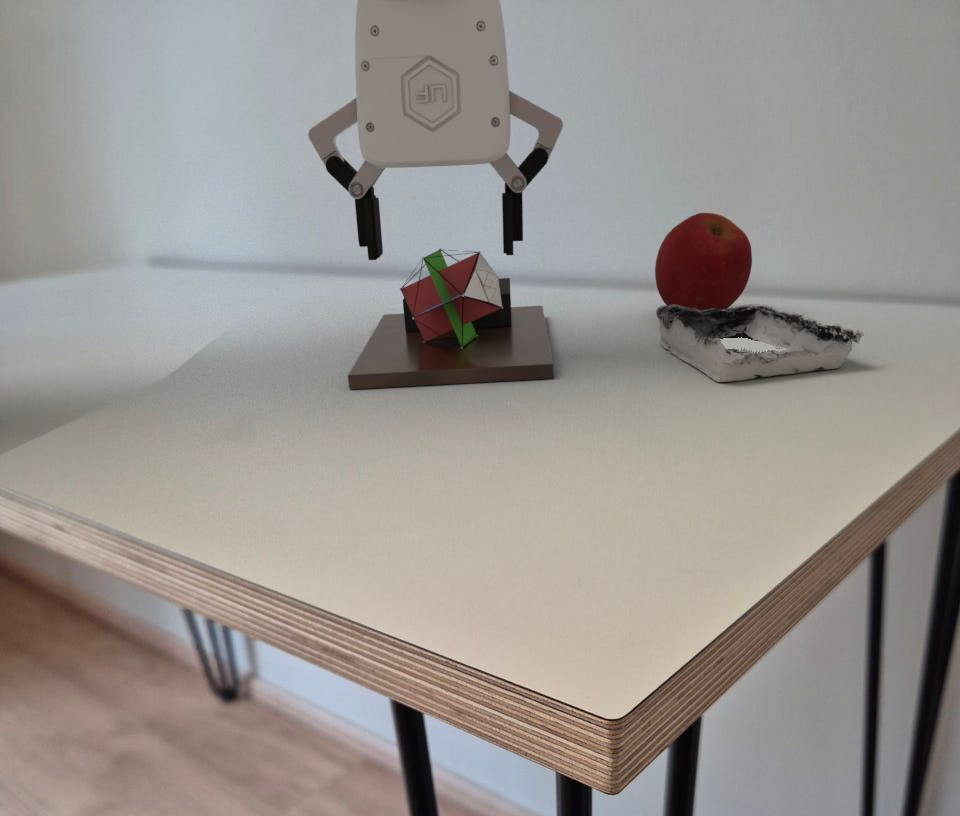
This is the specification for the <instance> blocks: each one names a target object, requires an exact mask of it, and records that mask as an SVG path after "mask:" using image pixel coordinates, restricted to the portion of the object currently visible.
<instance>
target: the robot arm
mask: <svg viewBox="0 0 960 816" xmlns="http://www.w3.org/2000/svg"><path fill="white" fill-rule="evenodd" d="M354 31H355V34H354V41H355V42H354V67H355V71H354V73H355V98H353V99H352V100H351V101H349V102H348V103H346V104H345V105H343V106H341V107H340V108H338V109H337V110H336V111H334V112H333V113H332V114H330V115H328V116H327V117H326V118H324V119H323V120H321V121H319V122H318V123H316V124H315V125H313V126H312V127H310V129H309V130H308V140H309V141H310V142H311V144H312V146H313V148H314V150H315V151H316V153H317V155H318V156H319V159H320V160H321V161H322V163H323V165H324V166H325V169H326V172H327V173H329V175H330V176H331V177H332V178H333V179H335V181H336V182H337V183H339V185H340V186H342V188H344V189H345V190H346V191H347V192H348V194H349V196H350V197H351V198H352V199H354V207H355V217H356V218H355V219H356V228H357V229H356V231H357V240H358V245H359V248H363V247H364V248H367V257H368V261H377V260H378V259H380V257H381V256H382V255H383V253H384V249H383V248H384V247H383V237H382V236H383V235H382V223H381V209H380V200H379V199H380V198H379V197H377V195H376V194H375V188H374V186H375V184H376V183H377V182H378V180H379V178H380V177H381V175H382V174H383V172H384V171H385V169H387V168H388V169H397V168H400V169H401V168H402V169H403V168H426V167H428V168H429V167H430V168H431V167H455V166H474V165H485V164H490V166H491V167H492V168H493V169H494V170H495V172H496V174H498V176H499V177H500V178H501V179H502V180H503V182H504V192H502V193H501V202H502V203H501V204H502V205H501V207H502V247H503V248H502V249H503V251H502V252H503V254H505V255H506V256H514V242H523V241H524V219H523V218H524V217H523V215H524V214H523V213H524V211H523V207H524V205H523V203H524V202H523V192H524V191H525V190H526V188H527V187H528V186H529V185H530V184H531V182H532V181H533V180H534V179H535V178H536V177H537V175H538V174H539V173H540V172H541V171H542V169H544V167H545V166H546V165H547V163H548V161H549V159H550V157H551V154H552V152H553V150H554V148H555V145H556V143H557V142H558V139H559V137H560V135H561V133H562V130H563V127H564V122H563V120H562V119H561V118H560V117H559V116H558V115H556V114H553V113H551V112H549V111H548V110H546V109H544V108H542V107H540V106H539V105H537V104H535V103H533V102H531V101H530V100H527V99H526V98H524V97H522V96H520V95H519V94H516V93H515V92H513V91H511V90H510V85H509V84H510V83H509V70H508V54H507V53H508V52H507V43H506V42H507V41H506V32H505V24H504V19H503V11H502V6H501V0H357V3H356V14H355V30H354ZM511 116H513V117H515V118H517V119H519V120H520V121H522V122H524V123H525V124H528V125H529V126H531V127H534V128H535V129H536V131H537V133H538V134H537V138H536V141H535V143H534V145H533V148H532V150H531V151H530V152H529V153H528V155H527V156H526V157H525V159H524V160H523V161H522V162H521V163H520V164H519V166H518V165H517V164H516V163H515V161H514V160H513V159H512V158H511V156H510V155H509V154H508V153H507V152H508V151H509V149H510V143H511ZM356 124H357V133H358V142H359V150H360V153H361V156H362V158H363V160H364V161H363V162H362V164H361V166H360V167H359V169H358V170H356V168H354V167H353V166H352V165H351V164H350V163H349V162H348V160H346V159H345V158H344V157H343V156H342V154H341V152H340V150H339V148H338V146H337V141H336V140H337V138H338V137H339V136H340V135H341V134H342V133H344V132H346V131H347V130H348V129H350V128H352V127H353V126H354V125H356Z"/></svg>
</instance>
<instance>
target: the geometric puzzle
mask: <svg viewBox="0 0 960 816" xmlns="http://www.w3.org/2000/svg"><path fill="white" fill-rule="evenodd" d="M449 251H453V252H458V250H455V249H449ZM443 253H444V254H445V256H444V255H443ZM471 253H473V254H472V255H470V256H468V257H466V258H464V259H462V260H458V259H456V258H455V257H454V256H459V255H461V253H456V254H455V253H454V256H453V255H452V254H449V253H447V252H445V250H443V249H442V248H441V247H440V248H438V250H436V251H434V252H432V253H430V254H428V255H426V256H422V257H421V260H420V262H419V263H418V264H417V266H416V267H415V268H414V270H413V271H412V272H411V274H410V275H409V277H408V278H407V279H406V281H405V282H404V284H403V285H402V286H401V287H399V291H400V292H401V294H402V296H403V299H405V301H406V303H407V306H408V308H409V311H411V312H410V313H411V315H412V319H413V320H415V321H414V322H415V324H416V326H417V328H418V330H419V332H420V334H421V336H422V338H423V342H424V343H425V342H427V343H429V342H430V341H428V340H430V339H432V338H435V337H437V336H439V335H441V336H442V334H444V333H446V332H448V331H451V330H453V329H454V331H455V333H456V335H457V337H455V338H458V340H459V342H460V344H461V347H460V346H459V345H457V344H456V345H457V346H459V348H461V349H463V347H464V346H465V345H466V344H467V343H469V342H470V341H471V340H472V339H473V338H475V337H477V336H478V334H479V333H480V332H481V331H482V330H481V329H482V328H483V327H484V326H485V325H487V324H488V323H489V322H490V321H491V320H492V319H493V318H494V316H495V315H496V314H497V313H498V312H499V311H500V310H501V309H503V307H502V300H501V293H500V286H499V279H500V278H499V276H498V275H497V273H496V272H495V271H494V269H493V268H492V267H491V265H490V264H489V262H488V261H487V260H486V258H485V257H484V256H483V254H482V253H481V251H480V250H478V251H470V250H465V252H464V253H463V255H467V254H468V255H469V254H471ZM445 257H450V258H452V259H453V260H454V261H456V262H455V263H453V264H451V265H449V266H448V265H447V262H446V260H445ZM423 262H424V265H423ZM419 264H421V266H420V269H418V270H417V272H416V273H415V274H414V272H415V270H416V269H417V267H418V266H419ZM425 266H426V268H427V271H428V273H429V275H428V276H425V277H423V278H421V275H422V269H424V267H425ZM419 272H420V273H419ZM413 274H414V275H413ZM418 274H419V278H418V280H417V281H415V282H413V283H410V284H408V283H409V282H410V281H411V280H413V278H414V277H415V276H416V275H418ZM412 275H413V276H412ZM499 309H500V310H499ZM496 310H499V311H498V312H497V313H496V314H495V315H494V316H493V317H492V318H491V319H490V320H489V321H488V322H487V323H486V324H485V325H484V326H483V327H482V328H481V329H480V330H481V331H480V330H479V331H480V332H479V331H478V329H477V333H476V332H475V330H474V328H473V325H472V323H471V321H474V320H476V319H478V318H479V323H480V317H483V316H485V315H487V314H490V313H492V312H494V311H496ZM479 323H478V328H479ZM478 332H479V333H478ZM442 337H444V336H442ZM444 338H445V337H444ZM455 338H446V339H447V340H449V339H455ZM446 339H439V340H446ZM431 341H438V340H431ZM449 341H450V340H449ZM451 342H452V341H451ZM452 343H454V342H452ZM433 344H435V343H433ZM454 344H455V343H454ZM440 345H442V344H440ZM446 346H448V345H446ZM452 347H455V346H452Z"/></svg>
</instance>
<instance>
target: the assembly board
mask: <svg viewBox="0 0 960 816" xmlns="http://www.w3.org/2000/svg"><path fill="white" fill-rule="evenodd" d="M511 324H512V325H511V326H506V327H489V328H482V329H481V328H474V330H475V332H476V333H477V329H478V331H479V330H480V329H481V330H482V331H481V330H480V331H481V332H480V331H479V332H480V333H479V332H478V333H479V334H478V336H477V337H475V338H473V339H472V340H471V341H470V342H469V343H467V344H466V345H465V346H464V347H463V349H461V348H459V346H460V347H461V344H460V342H459V340H458V338H455V337H457V335H456V333H455V331H454V329H453V330H451V331H448V332H446V333H444V334H442V336H444V337H445V338H444V337H442V336H441V335H439V336H437V337H435V338H432V339H430V340H428V341H430V342H429V343H427V342H425V343H424V342H423V338H422V336H421V334H420V332H419V331H418V332H406V330H405V319H404V312H403V313H389V314H387V313H386V314H383V315H382V317H381V318H380V319H379V322H378V324H377V325H376V327H375V328H374V329H373V332H372V334H371V335H370V337H369V338H368V340H367V342H366V344H365V345H364V347H363V349H362V351H361V352H360V354H359V356H358V358H357V359H356V361H355V362H354V364H353V366H352V368H351V370H350V371H349V373H348V374H347V380H348V381H347V382H348V388H349V390H369V389H385V388H386V389H387V388H405V387H421V386H422V387H423V386H424V387H425V386H440V385H444V386H445V385H459V384H462V385H463V384H476V383H477V384H479V383H480V384H481V383H497V382H517V381H534V380H553V379H554V378H555V374H554V373H555V372H554V371H555V369H554V360H553V354H552V350H551V344H550V340H549V334H548V333H549V332H548V328H547V323H546V317H545V311H544V307H543V305H529V306H528V305H527V306H524V305H523V306H511ZM446 338H455V339H449V340H450V341H449V340H447V339H446ZM439 339H446V340H439ZM431 340H438V341H431ZM451 341H452V342H454V343H455V344H454V343H452V342H451ZM433 343H435V344H433ZM440 344H442V345H440ZM456 344H457V345H459V346H457V345H456ZM446 345H448V346H446ZM452 346H455V347H452Z"/></svg>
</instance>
